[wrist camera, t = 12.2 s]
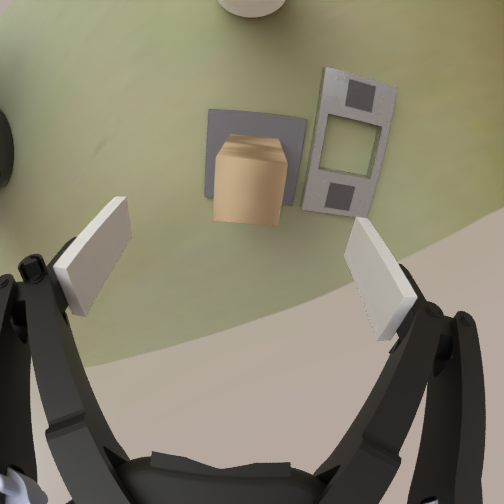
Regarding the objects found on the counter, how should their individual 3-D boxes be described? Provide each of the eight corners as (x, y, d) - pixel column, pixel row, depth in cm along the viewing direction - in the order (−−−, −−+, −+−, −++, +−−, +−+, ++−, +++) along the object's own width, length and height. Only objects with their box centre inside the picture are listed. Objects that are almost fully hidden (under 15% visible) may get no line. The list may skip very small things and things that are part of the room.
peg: (226, 178, 29) (212, 220, 21) (230, 133, 26) (215, 157, 18) (272, 182, 29) (278, 226, 21) (278, 138, 26) (288, 164, 18)
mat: (205, 195, 31) (204, 197, 30) (209, 109, 25) (208, 109, 25) (292, 204, 31) (292, 205, 31) (306, 119, 26) (306, 119, 25)
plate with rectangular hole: (300, 205, 31) (301, 210, 30) (323, 67, 22) (325, 66, 21) (363, 214, 31) (366, 219, 30) (392, 87, 22) (397, 87, 21)
